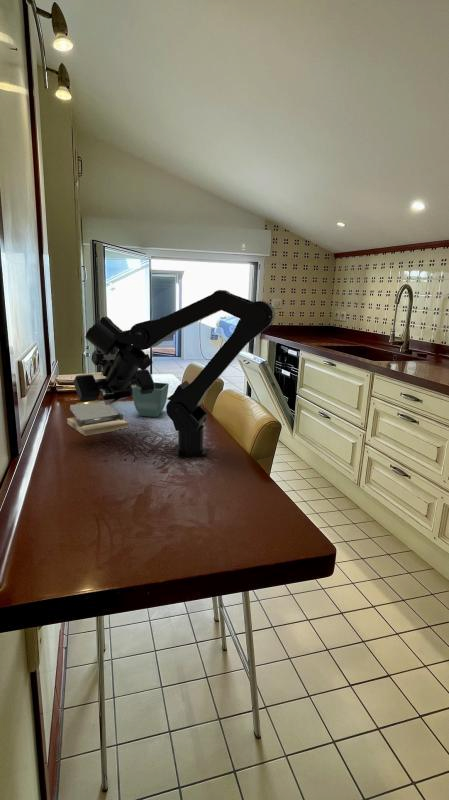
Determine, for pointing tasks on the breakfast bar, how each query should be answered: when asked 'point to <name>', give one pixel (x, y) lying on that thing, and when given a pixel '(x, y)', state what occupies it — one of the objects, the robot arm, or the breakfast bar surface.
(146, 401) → the flower pot
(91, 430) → the pale wooden slab
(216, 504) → the breakfast bar surface
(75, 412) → the flat square panel
